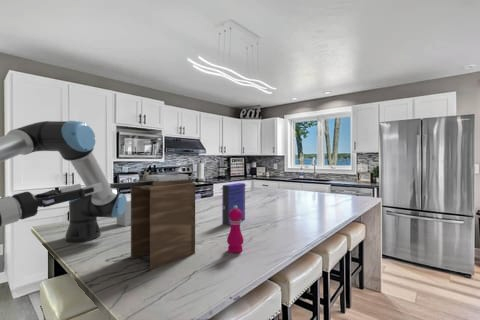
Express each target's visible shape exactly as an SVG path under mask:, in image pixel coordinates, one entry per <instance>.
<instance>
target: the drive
mask: <svg viewBox="0 0 480 320" xmlns="http://www.w3.org/2000/svg"><path fill="white" fill-rule="evenodd" d="M145 176H146V177H145V178H146V179H145V180H146V181H139V182H138V181H128V182H116V183H115V182H113V183H109V185H110V188H113V189H114V188H115V189H124V188H131V187H136V186H147V185H152V182H165V181H177V180H189V174H184V173H183V174H182V173H178V172H172V171H171V172H165V173H161V174H146V175H145Z"/></svg>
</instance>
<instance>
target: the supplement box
mask: <svg viewBox="0 0 480 320" xmlns="http://www.w3.org/2000/svg"><path fill="white" fill-rule="evenodd" d="M126 200H127V202H126V208H125V211H124V213H123V214H122V215H121V216H120V217H116V224H117V225H118V226H122V227H128V226H131V197H126Z"/></svg>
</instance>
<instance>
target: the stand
mask: <svg viewBox="0 0 480 320" xmlns="http://www.w3.org/2000/svg"><path fill="white" fill-rule="evenodd" d="M139 181H146V179H138V180H137V182H139ZM130 198H131V225H130V257H131V258H132V257H135V256H139V255H141V254H146V253H149V268H150V269H152V270H153V269H155V268H158V267H161V266H163V265H166V264H168V263H169V264H170V263H171V262H174V261H177V260H180V259H183V258H186V257H189V256H191V255H193V254H196V182H195V183H194V182H193V179H192V178H191V179H189V178H188V180H177V181H165V182H152V185H147V186H136V187H130Z"/></svg>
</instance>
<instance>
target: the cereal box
mask: <svg viewBox="0 0 480 320" xmlns="http://www.w3.org/2000/svg"><path fill="white" fill-rule="evenodd" d="M221 198H222V204H221V206H222V219H221V221H222V223H221V224H222V225H224V226H231V224H230V220H231V219H230V218H229V212H230V210H232V209H234V206H235V205H236V206H237V207H238V208H237V209H239V210H241V212H242V218H241V219H240V220H241V222H242V221H245V220H246V183H244V182H236V183H230V184H228V183H227V184H224V185H222V197H221Z"/></svg>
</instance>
